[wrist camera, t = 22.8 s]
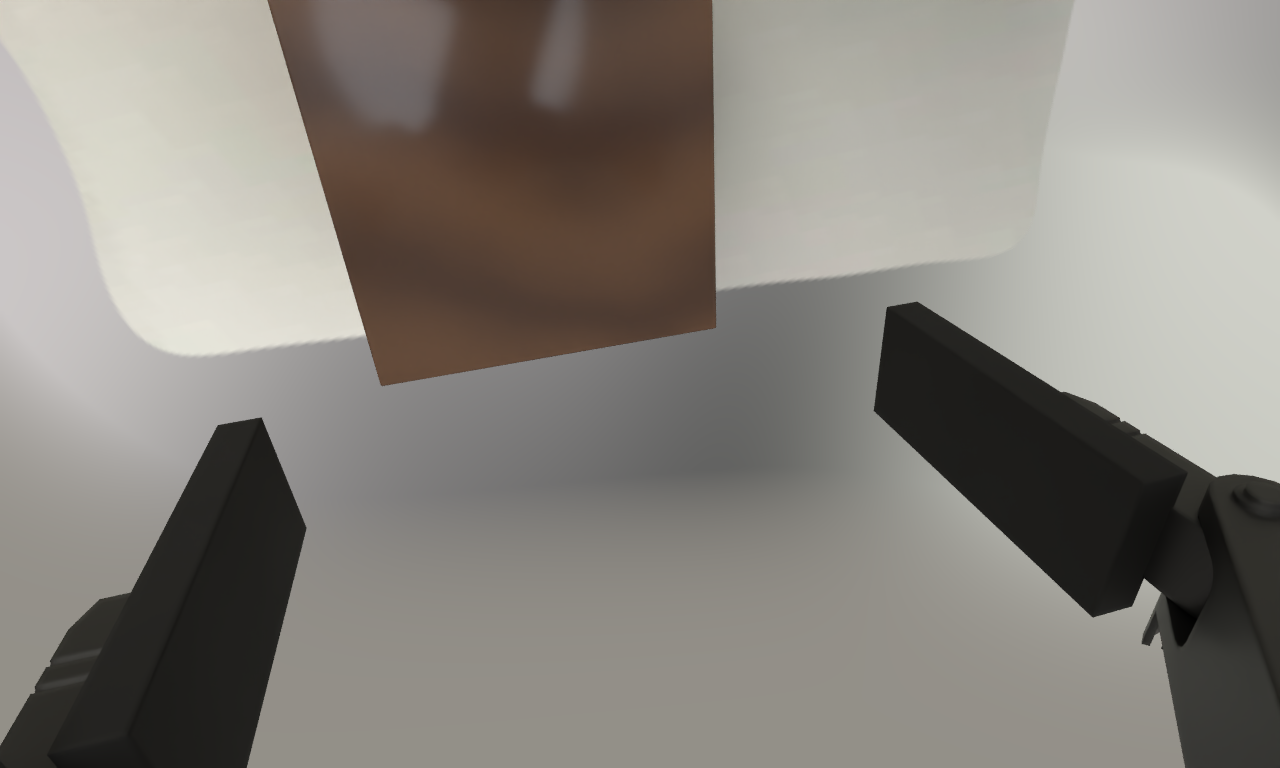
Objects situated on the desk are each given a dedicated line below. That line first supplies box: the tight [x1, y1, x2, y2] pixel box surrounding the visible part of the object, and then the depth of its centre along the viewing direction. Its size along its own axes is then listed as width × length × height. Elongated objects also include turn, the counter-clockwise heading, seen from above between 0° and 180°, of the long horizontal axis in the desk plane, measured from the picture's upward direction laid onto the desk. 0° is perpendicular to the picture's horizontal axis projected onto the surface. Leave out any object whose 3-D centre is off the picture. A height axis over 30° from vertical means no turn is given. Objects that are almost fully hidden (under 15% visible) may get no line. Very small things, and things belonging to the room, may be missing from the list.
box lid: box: [268, 0, 716, 386], centre depth 20 cm, size 17×13×5 cm
